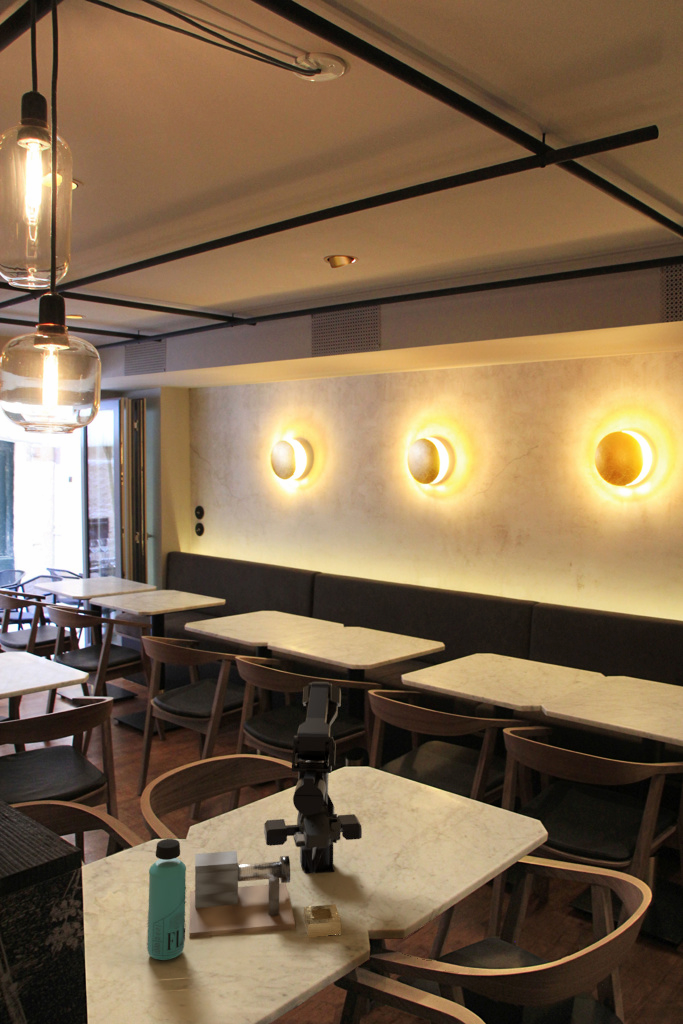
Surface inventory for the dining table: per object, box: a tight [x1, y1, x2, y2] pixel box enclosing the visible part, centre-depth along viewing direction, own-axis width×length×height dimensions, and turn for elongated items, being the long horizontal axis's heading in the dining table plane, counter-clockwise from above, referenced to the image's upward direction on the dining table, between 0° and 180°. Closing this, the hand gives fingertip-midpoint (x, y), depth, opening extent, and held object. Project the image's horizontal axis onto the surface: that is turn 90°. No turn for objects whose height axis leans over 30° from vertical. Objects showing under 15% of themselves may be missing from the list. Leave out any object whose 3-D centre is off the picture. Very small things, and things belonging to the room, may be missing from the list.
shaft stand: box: [188, 850, 296, 938], centre depth 151 cm, size 19×15×9 cm
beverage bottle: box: [145, 838, 187, 961], centre depth 136 cm, size 6×7×20 cm
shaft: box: [238, 855, 291, 884], centre depth 154 cm, size 15×5×5 cm, turn 100°
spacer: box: [303, 904, 342, 938], centre depth 146 cm, size 6×6×2 cm
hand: (312, 872), depth 157 cm, fingers closed
